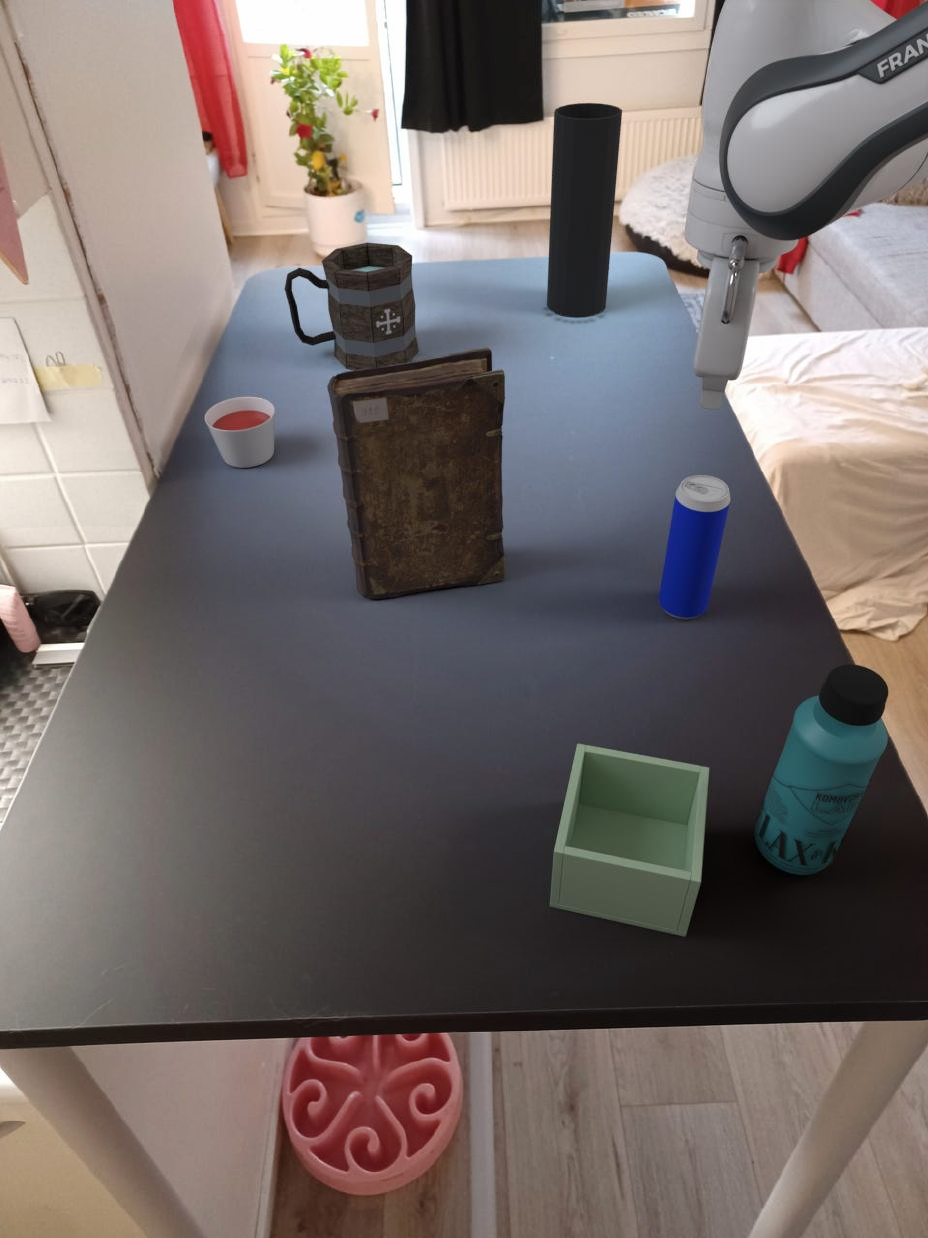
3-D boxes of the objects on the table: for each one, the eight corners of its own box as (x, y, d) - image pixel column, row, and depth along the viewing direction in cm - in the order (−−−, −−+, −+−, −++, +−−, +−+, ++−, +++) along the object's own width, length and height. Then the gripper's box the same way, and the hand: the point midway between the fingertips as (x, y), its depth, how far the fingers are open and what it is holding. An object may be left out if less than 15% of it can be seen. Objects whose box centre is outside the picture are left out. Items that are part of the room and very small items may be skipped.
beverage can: (714, 600, 95) (739, 482, 85) (696, 628, 92) (721, 509, 82) (669, 584, 97) (689, 467, 87) (650, 611, 94) (668, 493, 84)
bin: (695, 824, 74) (709, 767, 69) (685, 937, 67) (701, 882, 62) (571, 800, 76) (577, 743, 71) (549, 907, 69) (553, 851, 64)
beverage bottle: (732, 834, 73) (785, 662, 60) (799, 809, 75) (866, 637, 62) (779, 900, 69) (848, 731, 55) (850, 872, 70) (934, 701, 57)
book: (356, 603, 96) (327, 393, 80) (352, 563, 102) (324, 359, 85) (507, 585, 98) (509, 376, 81) (496, 547, 103) (496, 343, 87)
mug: (416, 332, 147) (410, 239, 137) (420, 369, 137) (414, 272, 127) (298, 339, 146) (283, 246, 136) (293, 377, 136) (277, 280, 126)
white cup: (201, 465, 118) (190, 422, 114) (241, 432, 124) (232, 391, 120) (257, 479, 115) (248, 436, 111) (295, 445, 121) (287, 403, 117)
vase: (577, 322, 149) (589, 122, 129) (534, 305, 154) (540, 111, 134) (618, 305, 153) (636, 110, 133) (575, 288, 159) (587, 99, 139)
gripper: (782, 269, 61) (745, 443, 71) (788, 181, 76) (757, 335, 85) (689, 261, 63) (665, 433, 72) (713, 177, 77) (690, 329, 87)
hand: (715, 380), depth 79 cm, fingers open, 8 cm apart
